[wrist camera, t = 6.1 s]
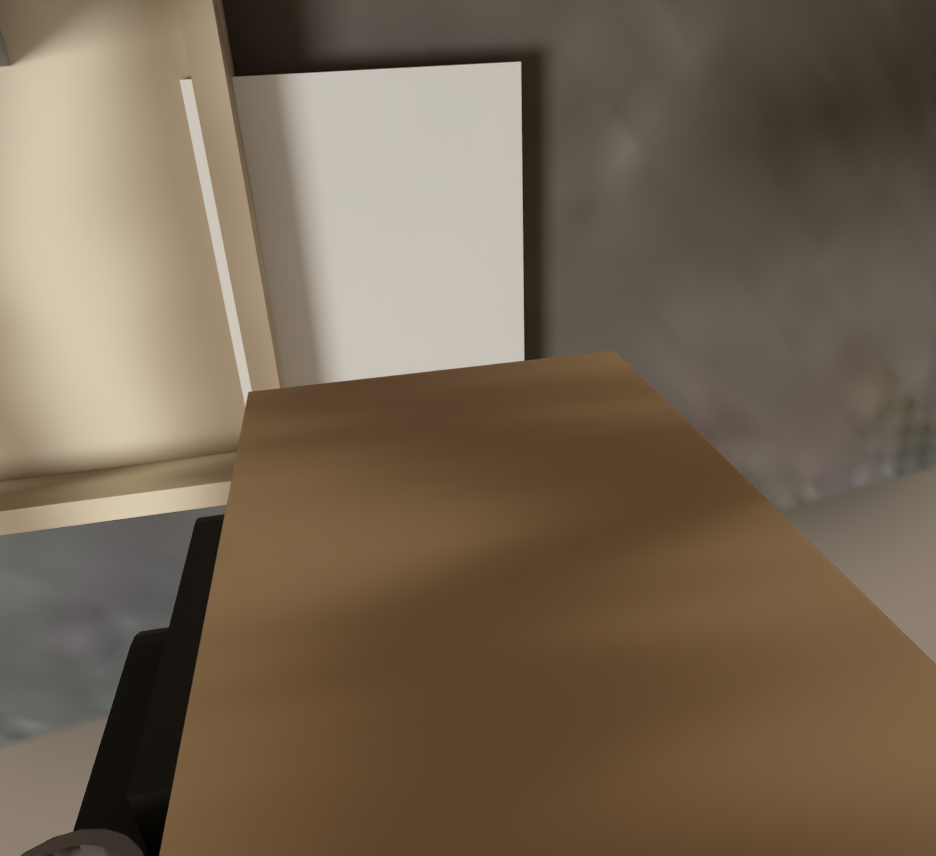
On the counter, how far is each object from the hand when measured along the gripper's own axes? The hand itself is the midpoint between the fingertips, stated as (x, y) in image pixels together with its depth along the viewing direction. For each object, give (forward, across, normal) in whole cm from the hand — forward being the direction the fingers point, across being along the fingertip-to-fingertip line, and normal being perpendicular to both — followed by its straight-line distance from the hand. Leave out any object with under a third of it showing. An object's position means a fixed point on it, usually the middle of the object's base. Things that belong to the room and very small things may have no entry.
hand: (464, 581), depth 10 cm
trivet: (+15, 0, 0) cm, 15 cm away
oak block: (+1, 0, 0) cm, 1 cm away
